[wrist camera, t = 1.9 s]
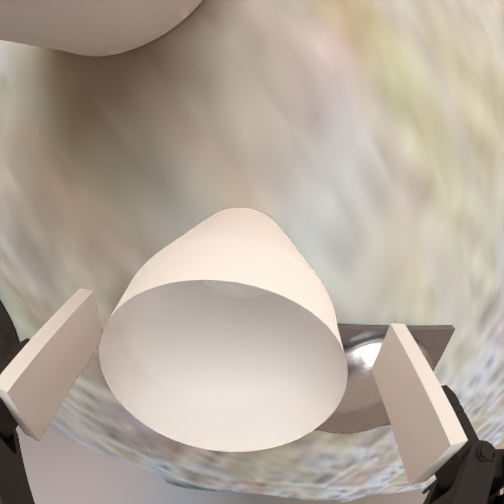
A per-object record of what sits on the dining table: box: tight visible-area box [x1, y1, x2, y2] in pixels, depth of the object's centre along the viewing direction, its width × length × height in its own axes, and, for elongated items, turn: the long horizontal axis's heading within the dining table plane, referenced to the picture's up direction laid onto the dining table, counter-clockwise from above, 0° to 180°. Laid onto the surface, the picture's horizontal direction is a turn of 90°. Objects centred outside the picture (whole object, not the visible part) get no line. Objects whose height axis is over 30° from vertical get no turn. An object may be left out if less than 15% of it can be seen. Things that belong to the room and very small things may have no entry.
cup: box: [99, 208, 348, 452], centre depth 15 cm, size 9×9×12 cm
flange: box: [314, 324, 455, 434], centre depth 24 cm, size 14×14×2 cm
